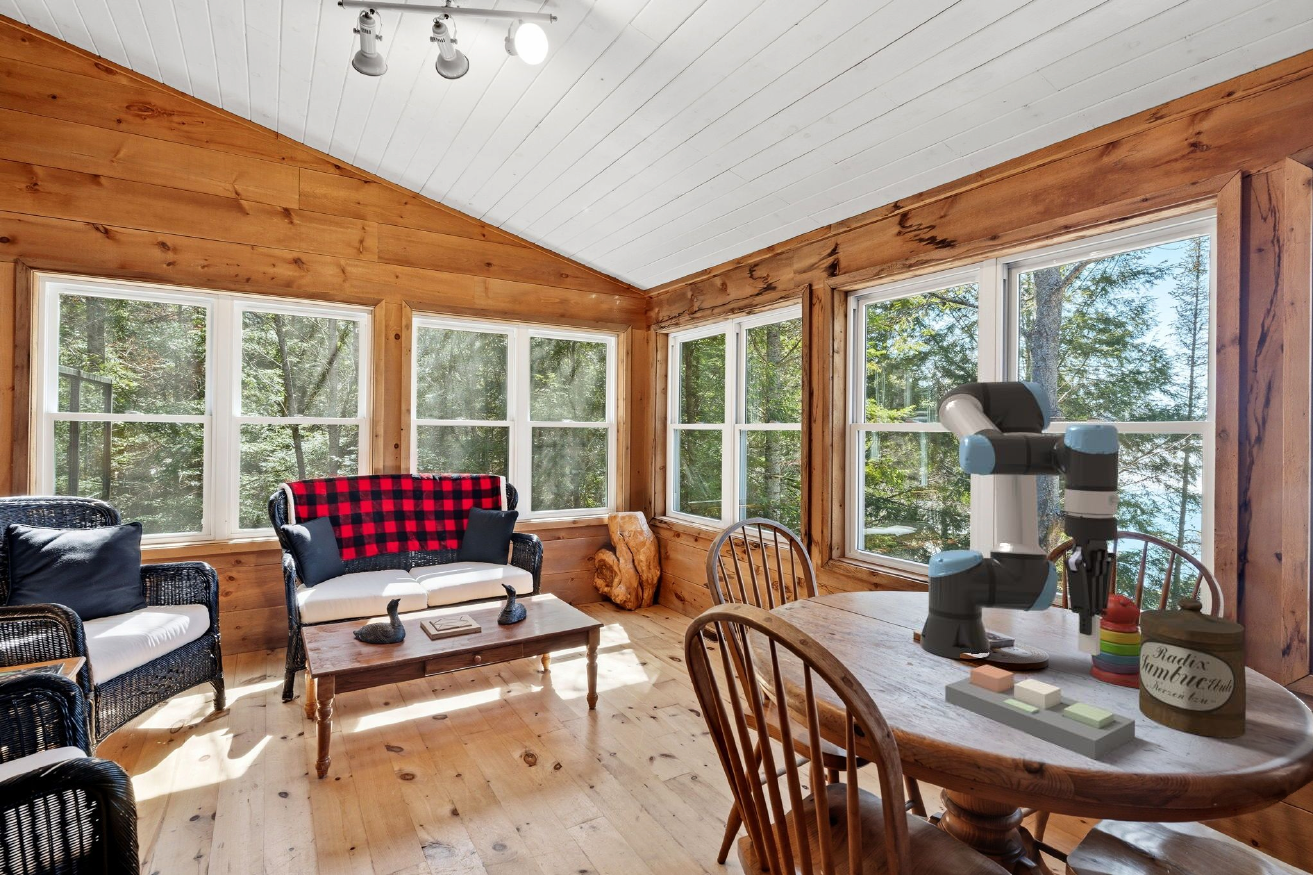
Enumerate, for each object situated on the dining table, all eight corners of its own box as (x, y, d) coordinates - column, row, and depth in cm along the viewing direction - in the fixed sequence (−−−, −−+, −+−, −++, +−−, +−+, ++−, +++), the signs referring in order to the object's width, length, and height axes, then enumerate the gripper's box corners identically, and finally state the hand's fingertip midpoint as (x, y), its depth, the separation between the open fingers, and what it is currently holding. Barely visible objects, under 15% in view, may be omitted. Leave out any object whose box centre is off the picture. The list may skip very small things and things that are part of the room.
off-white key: (1014, 700, 117) (1014, 684, 117) (1030, 694, 120) (1030, 678, 120) (1044, 711, 113) (1045, 694, 113) (1060, 704, 116) (1060, 688, 116)
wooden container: (1127, 715, 117) (1128, 596, 117) (1153, 695, 126) (1154, 584, 126) (1234, 747, 106) (1235, 614, 105) (1254, 723, 115) (1255, 600, 114)
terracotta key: (970, 684, 125) (970, 669, 125) (986, 679, 128) (986, 664, 127) (997, 694, 120) (997, 678, 120) (1013, 688, 123) (1013, 673, 123)
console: (945, 700, 123) (945, 683, 123) (987, 686, 131) (987, 669, 131) (1094, 759, 101) (1095, 738, 101) (1134, 737, 109) (1135, 717, 109)
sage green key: (1063, 726, 110) (1063, 708, 110) (1079, 719, 113) (1079, 702, 113) (1098, 739, 106) (1098, 720, 106) (1113, 731, 109) (1114, 713, 108)
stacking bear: (1159, 690, 129) (1160, 602, 129) (1103, 686, 131) (1104, 599, 131) (1131, 670, 140) (1132, 589, 140) (1079, 667, 142) (1080, 587, 142)
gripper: (1096, 520, 102) (1094, 666, 103) (1133, 514, 109) (1131, 652, 110) (1047, 514, 109) (1046, 652, 109) (1085, 510, 116) (1083, 639, 116)
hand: (1089, 652), depth 109 cm, fingers closed
